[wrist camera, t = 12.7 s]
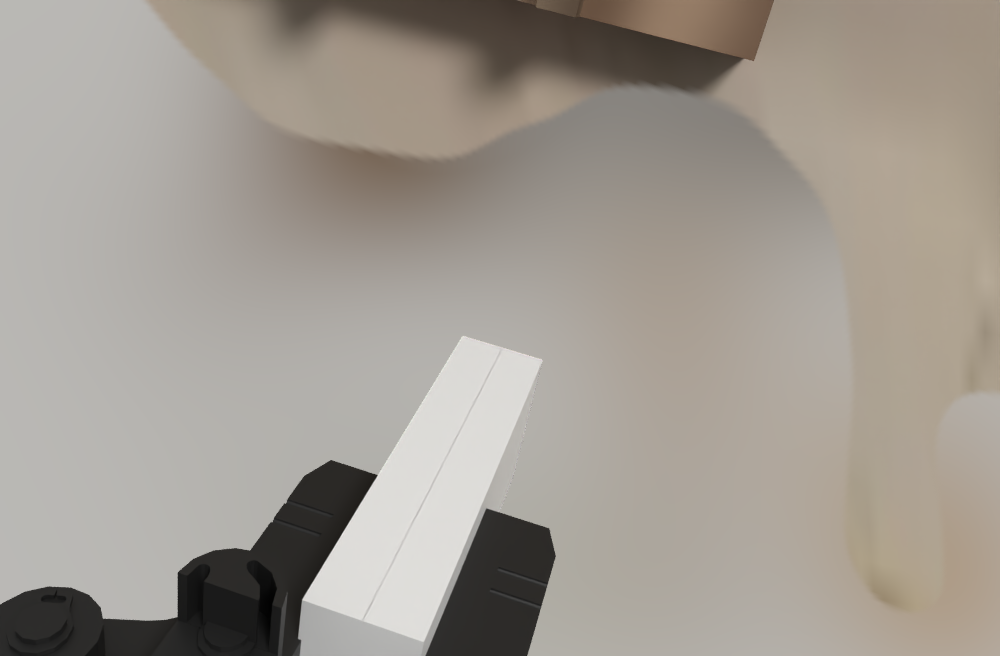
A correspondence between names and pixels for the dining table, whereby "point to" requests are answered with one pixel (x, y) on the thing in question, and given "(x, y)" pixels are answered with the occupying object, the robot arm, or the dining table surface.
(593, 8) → the trap board
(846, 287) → the dining table surface
